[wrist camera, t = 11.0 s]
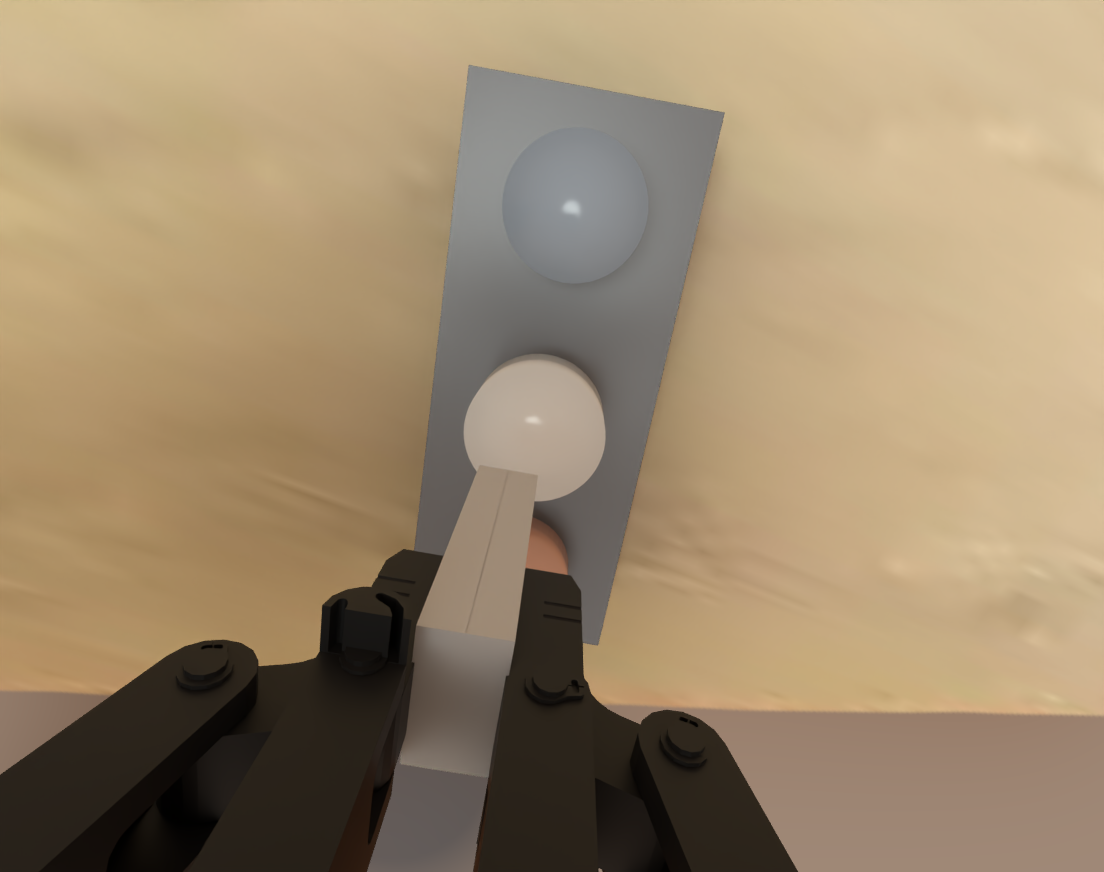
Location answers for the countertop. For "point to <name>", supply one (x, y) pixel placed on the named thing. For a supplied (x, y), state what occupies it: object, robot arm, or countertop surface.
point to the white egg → (538, 423)
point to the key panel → (562, 305)
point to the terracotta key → (546, 549)
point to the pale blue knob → (575, 205)
